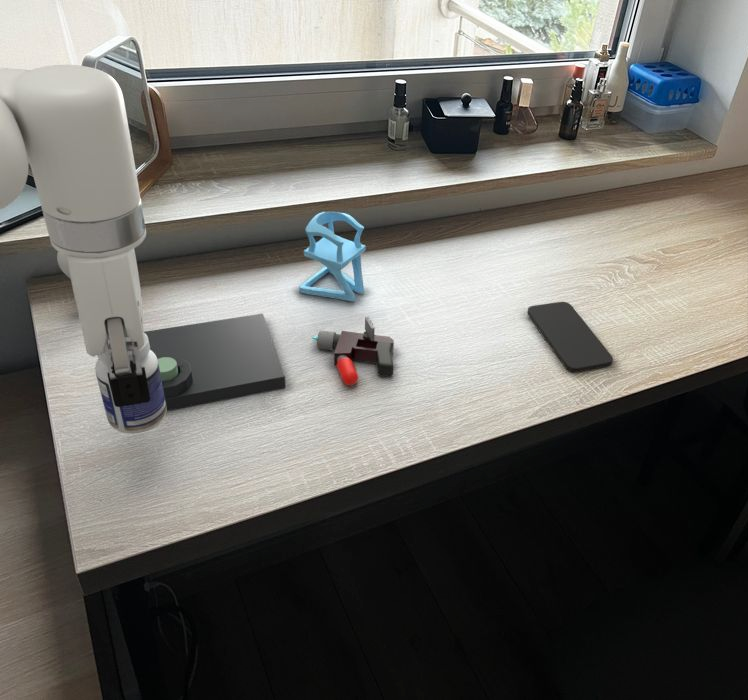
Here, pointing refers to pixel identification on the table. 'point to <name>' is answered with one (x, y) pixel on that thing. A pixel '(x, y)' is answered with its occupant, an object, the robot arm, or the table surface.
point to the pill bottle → (138, 414)
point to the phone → (569, 336)
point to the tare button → (167, 368)
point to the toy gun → (358, 351)
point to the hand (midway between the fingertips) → (130, 380)
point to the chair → (334, 256)
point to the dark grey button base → (218, 360)
